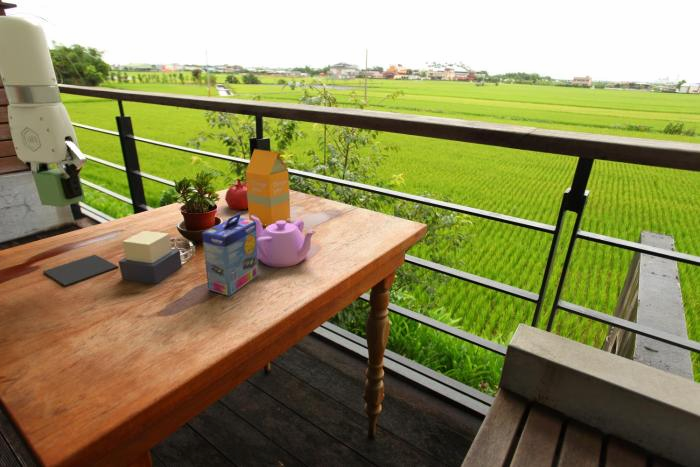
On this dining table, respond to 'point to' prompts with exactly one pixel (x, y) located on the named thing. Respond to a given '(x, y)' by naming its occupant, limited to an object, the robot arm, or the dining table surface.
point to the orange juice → (268, 187)
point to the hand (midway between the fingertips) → (62, 195)
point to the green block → (53, 189)
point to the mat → (80, 270)
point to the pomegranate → (237, 196)
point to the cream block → (147, 246)
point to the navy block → (151, 268)
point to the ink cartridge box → (230, 254)
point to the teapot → (282, 243)
